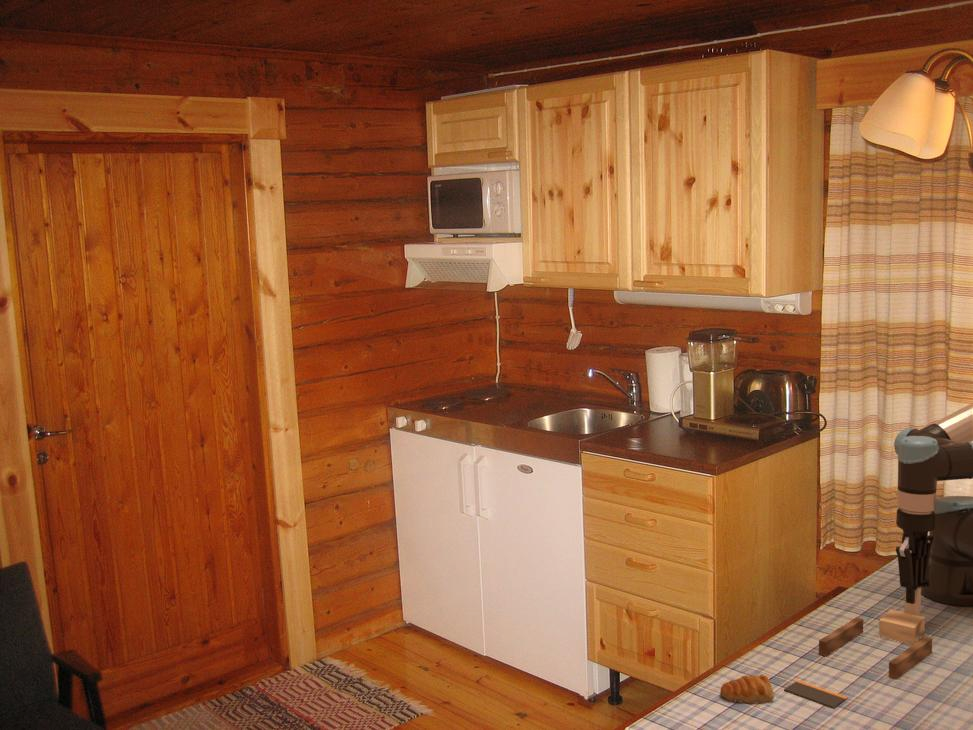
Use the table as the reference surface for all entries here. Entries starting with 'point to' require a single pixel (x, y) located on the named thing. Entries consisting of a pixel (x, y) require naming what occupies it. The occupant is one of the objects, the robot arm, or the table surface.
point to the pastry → (748, 689)
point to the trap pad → (815, 694)
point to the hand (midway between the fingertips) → (912, 615)
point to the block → (901, 626)
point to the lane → (895, 666)
